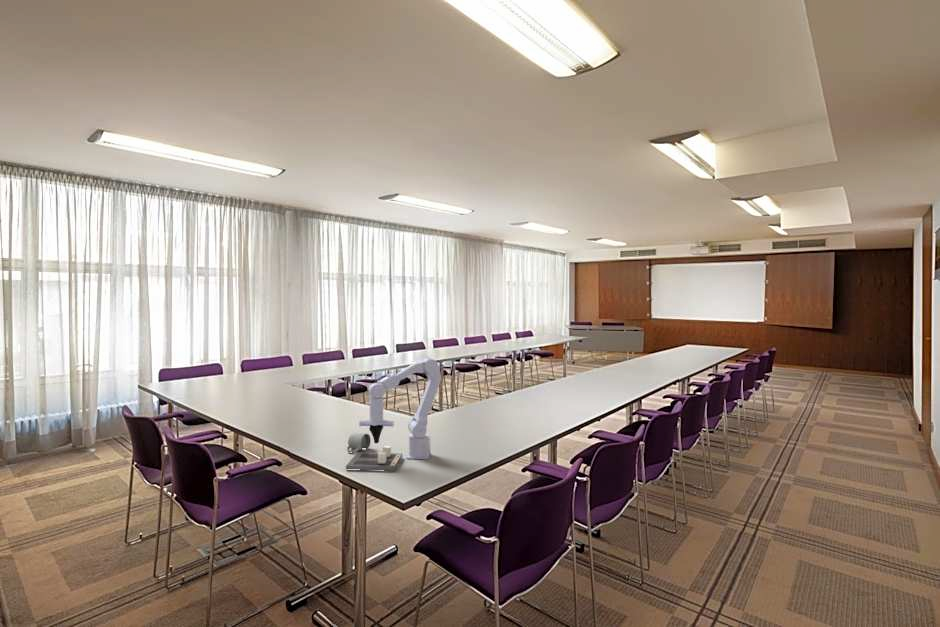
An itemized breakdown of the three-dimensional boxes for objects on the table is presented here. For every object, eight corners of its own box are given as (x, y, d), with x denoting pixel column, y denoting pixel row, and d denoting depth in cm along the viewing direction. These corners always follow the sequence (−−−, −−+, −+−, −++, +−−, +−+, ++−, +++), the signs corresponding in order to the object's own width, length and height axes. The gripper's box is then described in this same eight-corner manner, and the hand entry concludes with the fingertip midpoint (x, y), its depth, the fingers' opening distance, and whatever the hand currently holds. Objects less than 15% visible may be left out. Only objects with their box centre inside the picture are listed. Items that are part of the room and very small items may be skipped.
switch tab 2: (391, 454, 202) (391, 445, 201) (389, 456, 199) (389, 448, 198) (384, 454, 202) (384, 445, 202) (382, 456, 199) (382, 447, 199)
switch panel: (402, 458, 204) (402, 453, 204) (394, 471, 188) (394, 466, 188) (357, 457, 205) (357, 452, 205) (345, 470, 189) (345, 465, 189)
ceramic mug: (356, 445, 221) (356, 429, 220) (371, 447, 218) (370, 431, 217) (342, 453, 211) (342, 436, 211) (357, 455, 208) (357, 438, 208)
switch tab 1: (386, 460, 194) (386, 451, 193) (385, 463, 191) (385, 454, 190) (379, 460, 194) (379, 451, 194) (377, 463, 191) (377, 454, 191)
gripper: (357, 413, 196) (357, 445, 197) (391, 413, 195) (391, 445, 196) (361, 409, 203) (362, 440, 204) (394, 409, 202) (394, 440, 203)
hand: (376, 442), depth 200 cm, fingers closed
